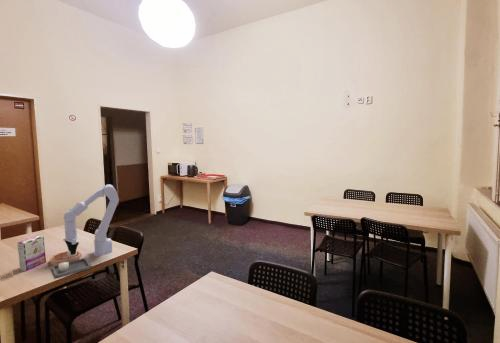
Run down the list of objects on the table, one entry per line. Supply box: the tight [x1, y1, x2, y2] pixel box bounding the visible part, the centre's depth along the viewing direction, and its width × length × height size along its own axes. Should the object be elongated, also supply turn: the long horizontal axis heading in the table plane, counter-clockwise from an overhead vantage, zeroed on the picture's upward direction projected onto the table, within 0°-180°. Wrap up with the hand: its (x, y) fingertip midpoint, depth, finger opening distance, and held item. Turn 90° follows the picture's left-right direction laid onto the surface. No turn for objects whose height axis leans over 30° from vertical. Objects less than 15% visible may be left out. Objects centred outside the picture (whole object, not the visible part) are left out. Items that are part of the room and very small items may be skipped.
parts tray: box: [51, 257, 92, 279], centre depth 145 cm, size 16×14×2 cm
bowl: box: [49, 250, 82, 266], centre depth 156 cm, size 15×15×3 cm
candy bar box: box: [16, 235, 47, 272], centre depth 146 cm, size 11×5×16 cm, turn 168°
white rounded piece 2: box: [67, 250, 78, 259], centre depth 158 cm, size 5×5×4 cm
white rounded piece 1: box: [58, 262, 69, 273], centre depth 142 cm, size 5×5×4 cm
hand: (72, 252), depth 158 cm, fingers open, 6 cm apart
